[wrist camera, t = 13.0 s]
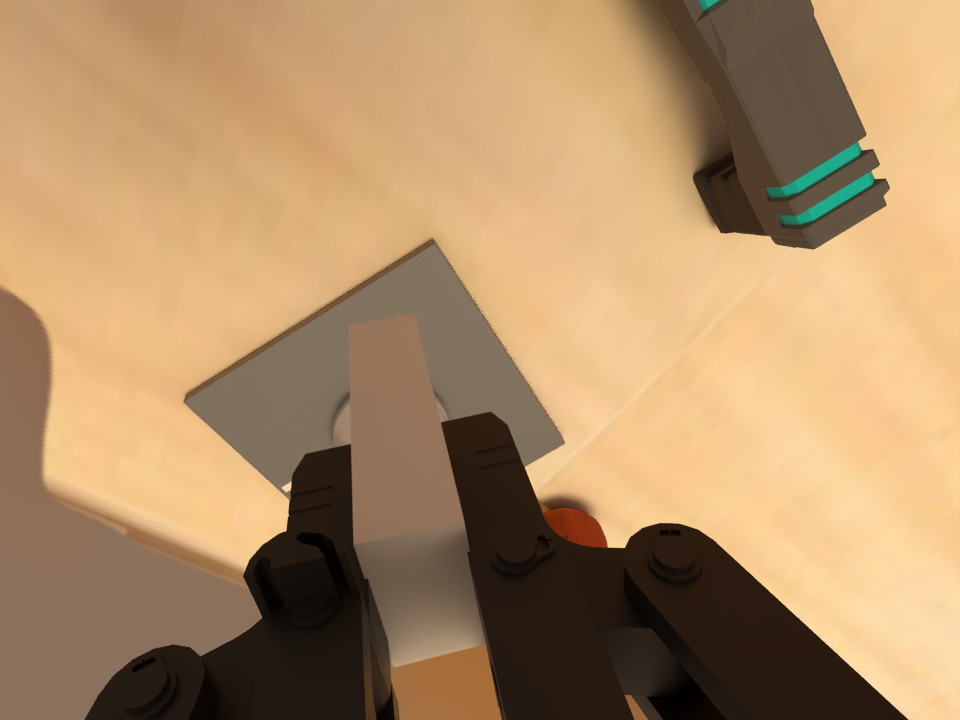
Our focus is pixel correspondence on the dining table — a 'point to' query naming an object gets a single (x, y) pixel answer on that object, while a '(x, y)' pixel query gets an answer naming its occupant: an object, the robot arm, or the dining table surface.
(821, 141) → the gun
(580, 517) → the fruit
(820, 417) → the dining table surface
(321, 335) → the panel
